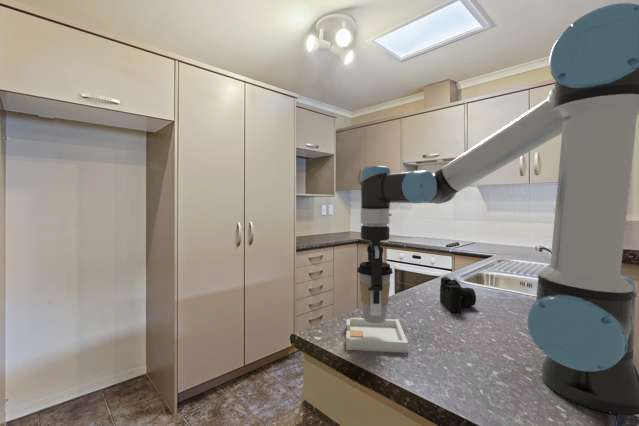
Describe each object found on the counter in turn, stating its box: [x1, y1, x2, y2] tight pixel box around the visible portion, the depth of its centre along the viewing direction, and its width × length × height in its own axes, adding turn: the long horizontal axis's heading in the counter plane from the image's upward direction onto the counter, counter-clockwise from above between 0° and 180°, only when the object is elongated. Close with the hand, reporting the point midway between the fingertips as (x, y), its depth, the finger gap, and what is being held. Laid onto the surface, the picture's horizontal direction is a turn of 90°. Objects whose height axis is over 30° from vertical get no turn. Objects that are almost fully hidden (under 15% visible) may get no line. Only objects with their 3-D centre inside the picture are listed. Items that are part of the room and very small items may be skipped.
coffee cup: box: [356, 261, 394, 323], centre depth 82 cm, size 9×9×15 cm
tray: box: [345, 317, 409, 354], centre depth 83 cm, size 15×15×2 cm
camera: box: [439, 275, 477, 315], centre depth 107 cm, size 14×11×10 cm
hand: (374, 309), depth 82 cm, fingers closed on coffee cup, 8 cm apart
